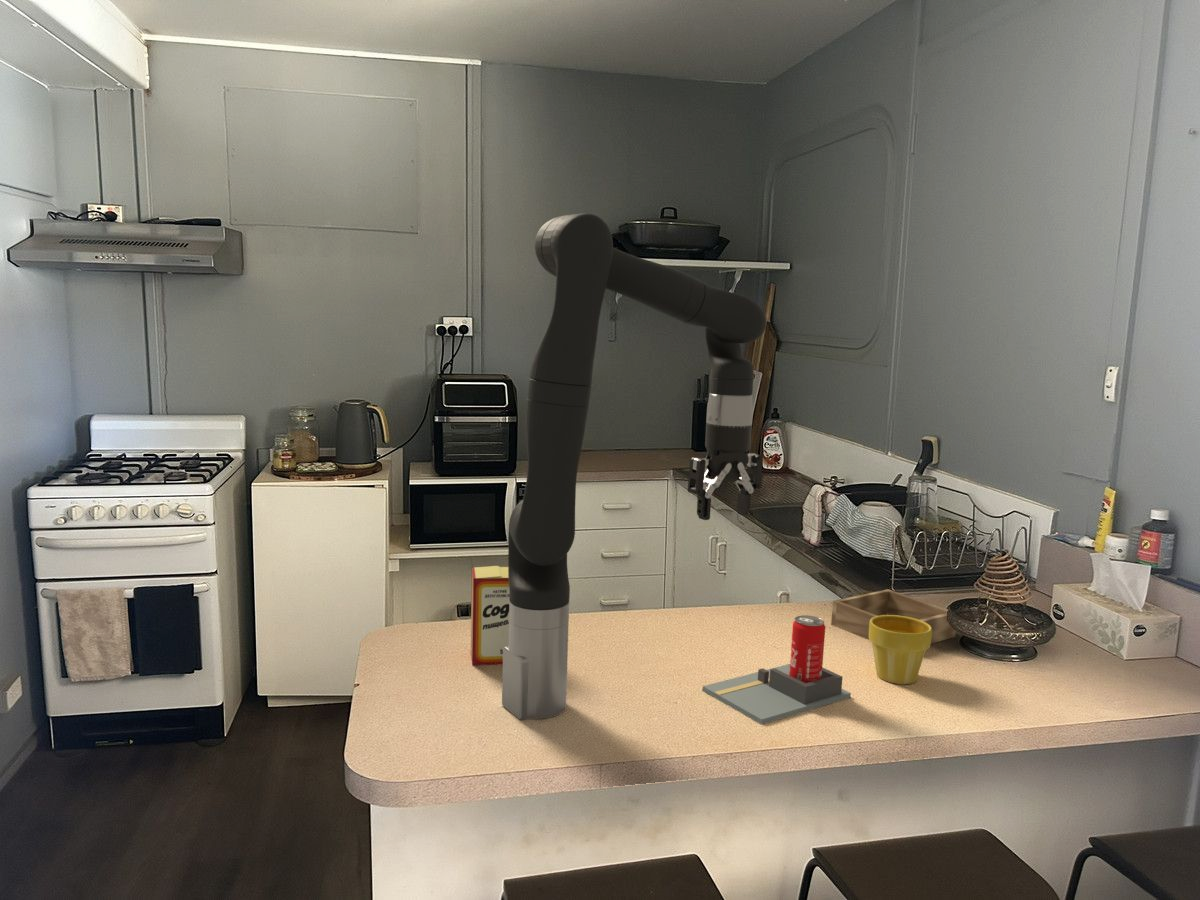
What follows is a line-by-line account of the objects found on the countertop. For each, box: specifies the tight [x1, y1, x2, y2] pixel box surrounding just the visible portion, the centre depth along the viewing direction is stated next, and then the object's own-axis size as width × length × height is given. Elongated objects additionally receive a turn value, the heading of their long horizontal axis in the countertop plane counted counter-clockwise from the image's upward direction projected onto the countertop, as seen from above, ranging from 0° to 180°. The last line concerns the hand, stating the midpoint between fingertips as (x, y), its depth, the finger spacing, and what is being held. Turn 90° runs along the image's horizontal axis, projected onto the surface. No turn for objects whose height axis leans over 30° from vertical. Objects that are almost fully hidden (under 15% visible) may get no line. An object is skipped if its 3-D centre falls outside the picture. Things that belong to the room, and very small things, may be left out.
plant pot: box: [869, 614, 932, 685], centre depth 157 cm, size 10×10×10 cm
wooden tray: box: [830, 589, 957, 644], centre depth 181 cm, size 17×17×5 cm
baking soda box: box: [470, 565, 509, 666], centre depth 159 cm, size 10×6×16 cm
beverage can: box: [789, 614, 826, 683], centre depth 148 cm, size 5×5×12 cm
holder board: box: [702, 663, 852, 725], centre depth 148 cm, size 20×14×4 cm
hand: (723, 516), depth 151 cm, fingers open, 8 cm apart
